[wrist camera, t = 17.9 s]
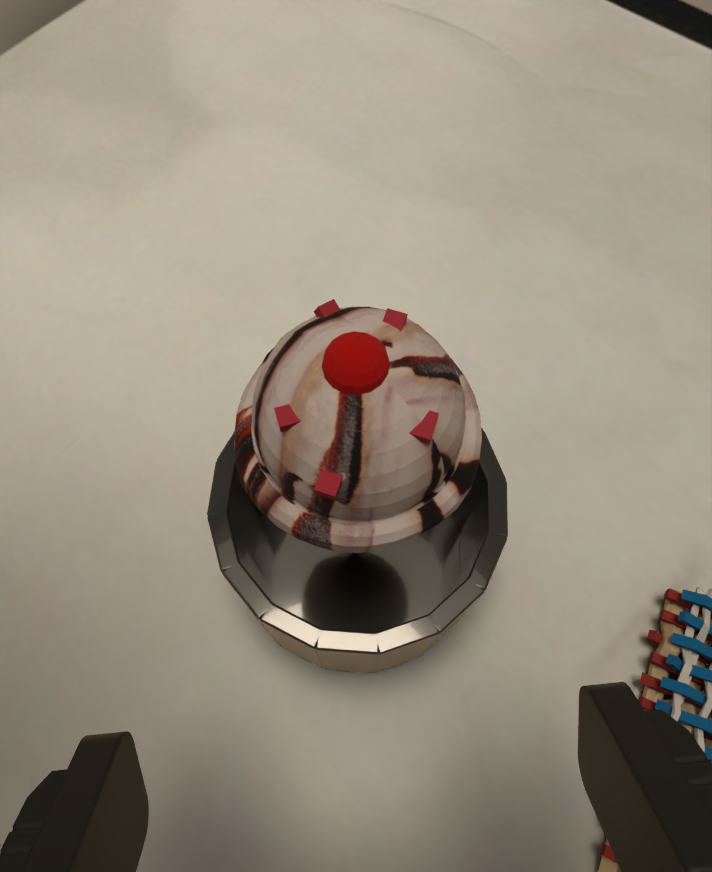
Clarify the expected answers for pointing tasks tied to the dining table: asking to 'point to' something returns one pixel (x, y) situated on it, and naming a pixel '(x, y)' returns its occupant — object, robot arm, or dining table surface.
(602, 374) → the dining table surface
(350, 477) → the ice cream cone
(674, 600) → the woven mat
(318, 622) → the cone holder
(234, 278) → the dining table surface
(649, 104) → the dining table surface
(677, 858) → the robot arm
